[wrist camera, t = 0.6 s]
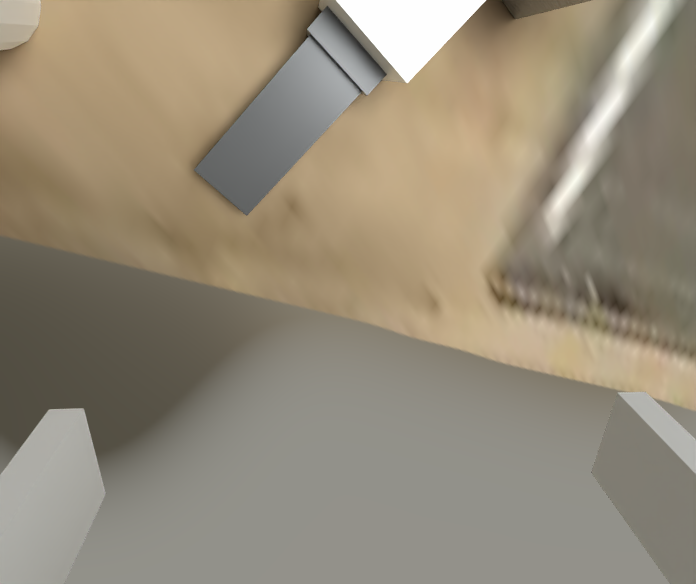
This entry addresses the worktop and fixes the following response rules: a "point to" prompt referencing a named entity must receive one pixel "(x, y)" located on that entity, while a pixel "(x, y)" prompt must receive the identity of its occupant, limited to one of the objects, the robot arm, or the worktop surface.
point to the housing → (536, 6)
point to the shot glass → (18, 21)
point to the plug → (327, 86)
